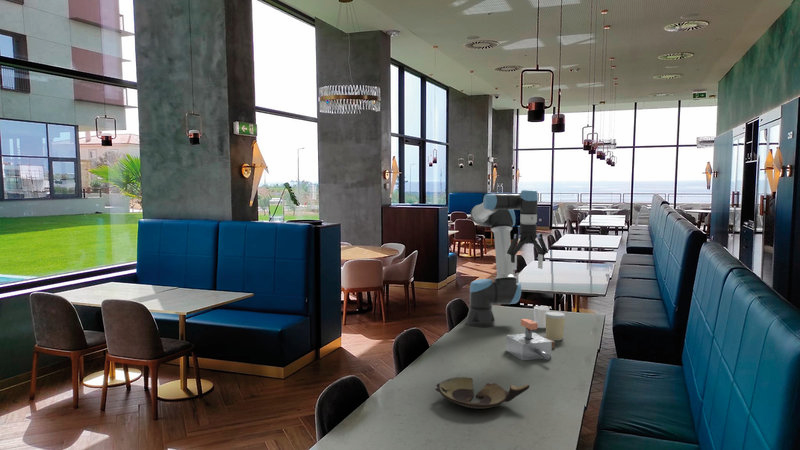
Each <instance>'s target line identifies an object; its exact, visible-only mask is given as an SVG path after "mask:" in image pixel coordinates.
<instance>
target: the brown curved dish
mask: <svg viewBox="0 0 800 450" xmlns="http://www.w3.org/2000/svg"><path fill="white" fill-rule="evenodd" d="M473 381H474V380H473V378H472V377H467V376H465V377H464V376H463V377H459V376H458V377H450V378H448V379H445V380H444V381H442V382H440V383H436V388H435V391H437V392H438V393H439V394H440V395H441V396H442V397H443V398H445V399H446V400H447V401H450V402H452V403H454V404H455V405H456V404H457V405H459V406H462V407H465V408H470V409H475V410H476V409H477V410H478V409H479V410H480V409H488V408H489V409H490V408H493V407H497V406H499V405H502V404H503V403H508V402H511V401H512V400H514V399H515V398H516V397H518V396H519V395H521V394H523V393H524V392H526V391H527V390H529V388H530V384H525V385H522V386H516V385H513V384H510V385H509V390H508V391H506V390H505V389H504V387H502V386H501V385H499V384H497V383H495V382H493V383H486V384H485V385H484V386H483V387H482V389H480V390H479V391H478V392H477V393H476V394H475V397H476V398H479V399H481V400H478V402H475V401H474V402H473V401H471V400H473V397H474V383H473ZM470 401H471V402H470Z"/></svg>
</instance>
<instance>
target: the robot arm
mask: <svg viewBox="0 0 800 450" xmlns="http://www.w3.org/2000/svg"><path fill="white" fill-rule="evenodd" d="M538 200H539V196H538V191H537V190H535V189H534V190H533V189H522V190H521V191H520V193H486V194H484V195H483V201H482V203H480V204H476V205H475V206H473V208H472V209H471V211H470V218H471V221H472V222H473V223H475V224H476V225H477V226H480V227H489V228H490V231H491V232H493V237H494V249H495V251H494V252H495V266H496V276H495V278H494V281H493V280H492V279H490V278H479V279H476V280H473V281H471V282H470V285H469V310H468V313H467V316H466V318H465V323H466V324H467V326H471V327H475V328H476V327H477V328H489V327H490V328H491V327H493V326H495V324H496V319H495V316H494V312H493V305H511V304H512V305H513V304H515V305H516V304H517V303H518V302H519V301H520V299H521V296H522V283H521V282H520V281H519V280H517V277H516V276H515V275H514V271H517V269H518V268H517V266H518V265H517V263H518V262H517V261H518V259H517V258H518V256H517V253H518V252H519V251H520V250H521V248H522V247H523V246H524V245H525V244H526V245H528V244H529V245H530V244H531V245H533V246H534V248H535V249H536V250H537V251H538V253H539V254H538V256H537V258H538V259H537V269H540V270H542V269H543V265H544V264H543V263H544V261H545V255H546V254H548V253H549V250H548V247H547V245H546V243H545V241H544V238H543V234H542V233H540V232H538V233H537V228H538V225H537V224H536V223H537V222H538ZM515 210H517V211H518V210H519V211H520V216H519V223H520V224H519V231H520V232H519V234H517V233H514V234H513V238H512V241H511V231H512V230H513V227H514V226H515V225H516V213H515ZM519 239H520V240H519ZM536 239H537V240H538V241H537V240H536Z"/></svg>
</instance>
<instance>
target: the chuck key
mask: <svg viewBox="0 0 800 450" xmlns="http://www.w3.org/2000/svg"><path fill="white" fill-rule="evenodd" d="M537 324H538V323H536V322H535V321H534V320H532V319H530V318H521V319H520V326H522V327H524V329H525V330H524V331H525V333H524V334H525V339H526V340H531V339H532V333H533V330H538V328H537Z"/></svg>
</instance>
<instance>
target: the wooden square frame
mask: <svg viewBox="0 0 800 450" xmlns="http://www.w3.org/2000/svg"><path fill="white" fill-rule="evenodd" d="M543 337H544V338H546V339H548V340H550V341H552V349H555V348H556V340H551V339H549V338H547V337H546V336H543Z"/></svg>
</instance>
